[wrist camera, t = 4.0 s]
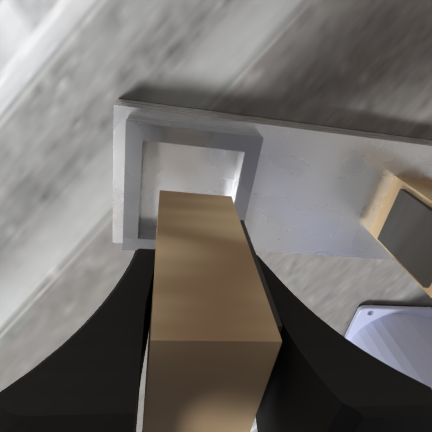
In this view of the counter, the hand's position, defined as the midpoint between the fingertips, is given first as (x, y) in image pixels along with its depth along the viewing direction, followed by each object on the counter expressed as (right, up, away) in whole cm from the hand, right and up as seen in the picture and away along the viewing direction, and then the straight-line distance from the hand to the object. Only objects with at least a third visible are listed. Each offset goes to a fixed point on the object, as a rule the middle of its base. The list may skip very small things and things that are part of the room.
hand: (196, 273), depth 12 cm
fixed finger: (+12, +3, +9) cm, 15 cm away
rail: (+5, +4, +9) cm, 11 cm away
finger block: (0, +1, +2) cm, 2 cm away
